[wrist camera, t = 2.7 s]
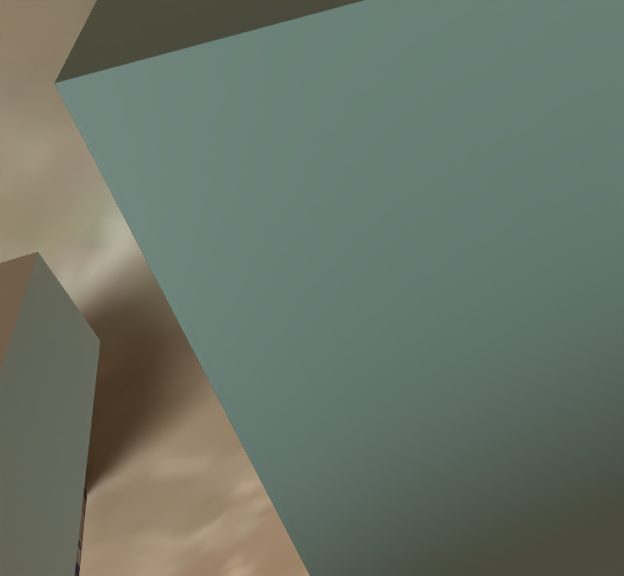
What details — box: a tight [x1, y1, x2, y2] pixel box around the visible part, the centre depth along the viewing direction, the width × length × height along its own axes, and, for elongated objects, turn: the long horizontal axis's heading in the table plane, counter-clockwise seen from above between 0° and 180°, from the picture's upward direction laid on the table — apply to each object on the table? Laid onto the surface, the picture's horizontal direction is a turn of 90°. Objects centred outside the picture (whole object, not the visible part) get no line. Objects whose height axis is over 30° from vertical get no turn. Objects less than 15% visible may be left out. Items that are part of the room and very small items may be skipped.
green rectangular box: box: [55, 0, 624, 576], centre depth 9 cm, size 12×4×12 cm, turn 10°
